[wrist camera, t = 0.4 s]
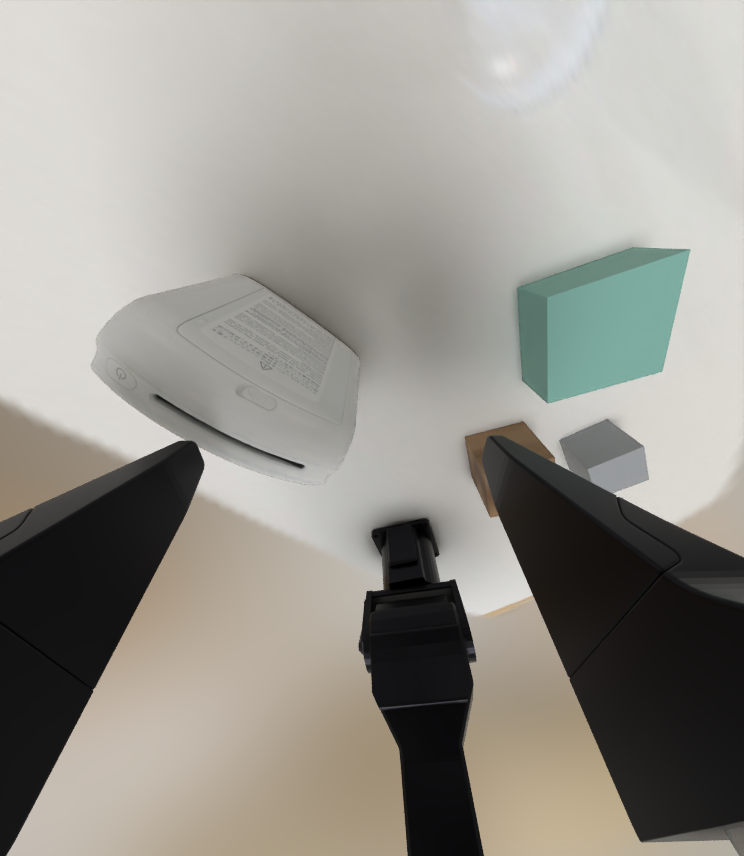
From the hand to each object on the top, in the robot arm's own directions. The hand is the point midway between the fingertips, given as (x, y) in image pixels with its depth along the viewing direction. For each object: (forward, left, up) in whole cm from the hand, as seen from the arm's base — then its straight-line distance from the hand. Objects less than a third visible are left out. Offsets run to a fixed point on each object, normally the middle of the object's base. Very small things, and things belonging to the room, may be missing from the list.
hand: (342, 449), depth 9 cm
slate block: (-16, -17, -14) cm, 27 cm away
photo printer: (+1, +4, -14) cm, 15 cm away
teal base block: (-4, -15, -14) cm, 21 cm away
